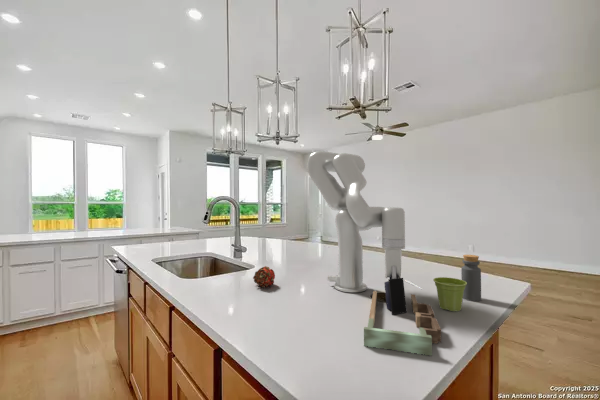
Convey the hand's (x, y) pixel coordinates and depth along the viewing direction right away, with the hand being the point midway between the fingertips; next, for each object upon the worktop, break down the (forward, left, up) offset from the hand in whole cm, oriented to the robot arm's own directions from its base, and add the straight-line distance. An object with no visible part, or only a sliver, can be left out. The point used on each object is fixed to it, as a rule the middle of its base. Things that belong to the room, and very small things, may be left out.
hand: (394, 297), depth 95 cm
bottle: (+26, +11, -2) cm, 28 cm away
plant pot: (+17, -1, -2) cm, 17 cm away
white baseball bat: (+11, +17, -2) cm, 20 cm away
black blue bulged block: (0, -8, -2) cm, 8 cm away
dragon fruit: (-50, +4, -2) cm, 50 cm away
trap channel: (+1, -17, -1) cm, 17 cm away
